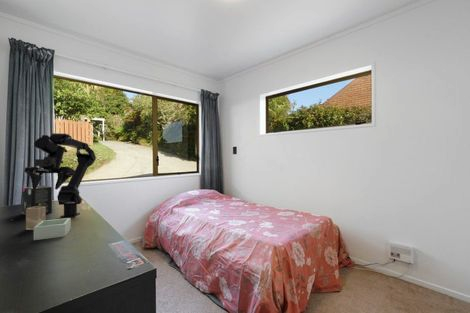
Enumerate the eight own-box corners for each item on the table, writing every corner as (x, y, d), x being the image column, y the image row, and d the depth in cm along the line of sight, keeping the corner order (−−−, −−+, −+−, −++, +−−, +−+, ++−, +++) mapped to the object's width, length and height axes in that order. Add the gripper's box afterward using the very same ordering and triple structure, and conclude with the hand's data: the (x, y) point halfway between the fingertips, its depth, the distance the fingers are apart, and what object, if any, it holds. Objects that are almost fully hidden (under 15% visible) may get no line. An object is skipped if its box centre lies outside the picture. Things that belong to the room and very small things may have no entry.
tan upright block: (34, 226, 99) (34, 206, 99) (45, 226, 99) (45, 206, 99) (25, 229, 95) (26, 208, 95) (37, 229, 95) (37, 208, 95)
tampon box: (21, 214, 119) (21, 187, 119) (42, 210, 128) (42, 185, 128) (30, 216, 114) (31, 188, 114) (52, 212, 122) (52, 186, 122)
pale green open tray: (42, 232, 91) (42, 220, 91) (70, 229, 96) (70, 217, 96) (33, 240, 83) (33, 227, 83) (65, 236, 87) (65, 224, 87)
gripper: (19, 150, 97) (7, 184, 91) (65, 150, 99) (55, 184, 93) (38, 159, 107) (27, 191, 101) (79, 159, 109) (71, 190, 103)
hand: (45, 189), depth 99 cm, fingers open, 9 cm apart
